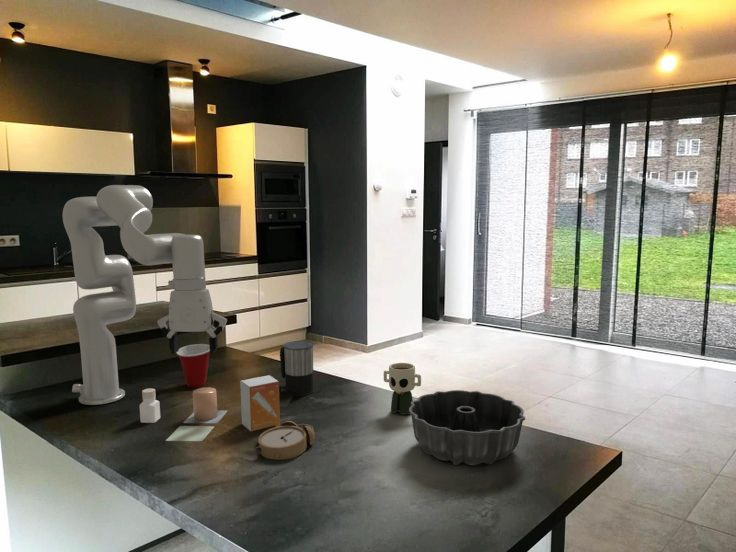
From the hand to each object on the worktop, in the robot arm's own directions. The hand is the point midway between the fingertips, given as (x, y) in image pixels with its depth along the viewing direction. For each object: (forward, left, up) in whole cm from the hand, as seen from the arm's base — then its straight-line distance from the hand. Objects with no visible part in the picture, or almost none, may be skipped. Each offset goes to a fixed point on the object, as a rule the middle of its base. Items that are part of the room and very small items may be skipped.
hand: (194, 352), depth 145 cm
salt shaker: (-14, +4, -21) cm, 26 cm away
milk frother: (+17, +30, -21) cm, 40 cm away
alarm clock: (+25, -8, -21) cm, 34 cm away
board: (0, +1, -21) cm, 21 cm away
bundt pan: (+67, -8, -21) cm, 71 cm away
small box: (+16, +2, -21) cm, 26 cm away
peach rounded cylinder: (0, +6, -19) cm, 20 cm away
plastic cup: (-14, +37, -21) cm, 45 cm away
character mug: (+52, +15, -21) cm, 58 cm away
